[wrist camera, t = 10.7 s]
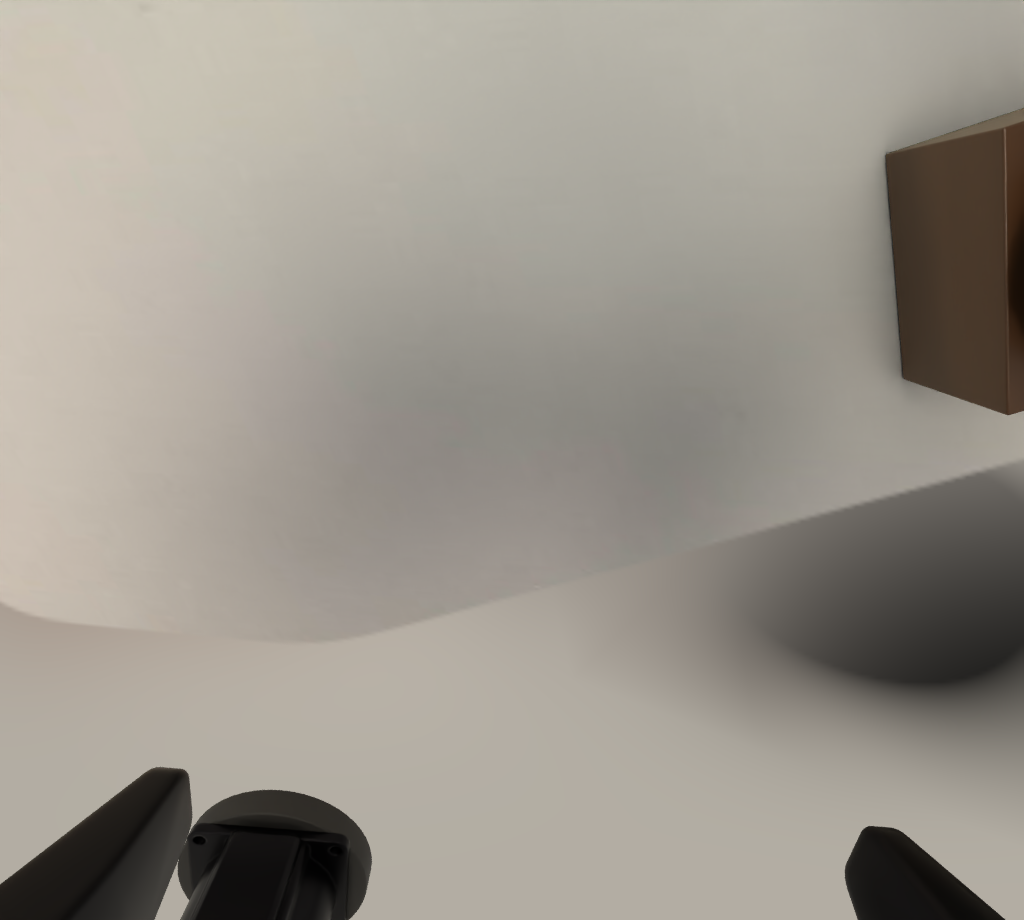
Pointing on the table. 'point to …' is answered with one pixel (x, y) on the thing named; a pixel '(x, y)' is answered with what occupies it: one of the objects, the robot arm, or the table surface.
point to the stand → (962, 261)
